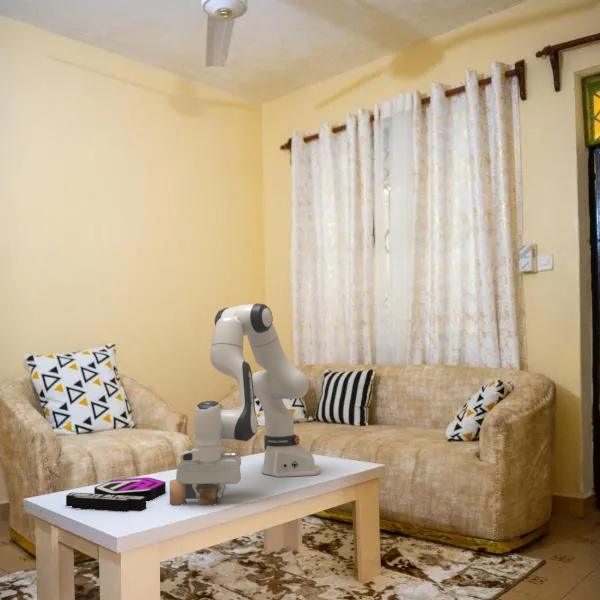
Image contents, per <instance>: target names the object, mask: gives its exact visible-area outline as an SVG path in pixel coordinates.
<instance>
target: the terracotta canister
mask: <svg viewBox="0 0 600 600" xmlns="http://www.w3.org/2000/svg"><path fill="white" fill-rule="evenodd" d="M186 499H187V498H186V484H182V482H177V481H176V478H175V479H171V480H169V505H170V504H171V506H181V504H183V505H185V504H186V503H187V500H186ZM184 503H185V504H184Z"/></svg>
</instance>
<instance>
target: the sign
mask: <svg viewBox="0 0 600 600" xmlns="http://www.w3.org/2000/svg"><path fill="white" fill-rule="evenodd" d="M166 487H167V486H166V481H164V480H160V479H156V478H152V477H136V478H135V477H133V478H119V479H113V480H109V481H107V482H103V483H102V484H99V485H97V486H95V487H94V488H93V490H94V493H90V492H69V493H68V494H66V496H65V506H72V507H71V508H81V509H80V510H87V509H95V510H94V511H103V510H108V512H119V511H120V512H121V511H122V513H128V512H142V511H145V510H146V509H147V502H146V501H148V502H150V500H151V501H153V499H154V500H155V498H156V499H157V497H158V498H159V496H160V497H162V496H163V495H166V491H167V490H166Z"/></svg>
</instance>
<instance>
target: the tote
mask: <svg viewBox="0 0 600 600" xmlns="http://www.w3.org/2000/svg"><path fill="white" fill-rule="evenodd" d="M202 485H218V491H220V489H221V487H220V484H198V486H197V488H198V490H199V489H200V488H201V487H202ZM186 499H197V498H196V493H195V491H194V489H193V488H192V484H186Z"/></svg>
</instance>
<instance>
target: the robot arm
mask: <svg viewBox="0 0 600 600" xmlns="http://www.w3.org/2000/svg"><path fill="white" fill-rule="evenodd" d="M273 319H274V318H273V313H272V310H271V308H270V307H268V306H267V305H266V304H265V303H264V304H263V303H250V304H249V303H248V304H240V305H236V306H230V307H225V308H222V309H220V310H218V311H217V313H216V315H215V317H214V330H213V333H212V336H211V337H212V338H211V343H210V344H211V346H210V351H209V352H210V353H209V358H210V362H211V365H212V367H214V368H215V370H216V371H217V372H220V373H221V374H224V375H225V376H228V377H230V378H233V379H234V380H236V382H237V384H238V390H239V401H240V402H239V403H240V406H239V409H223V408H221V405H220V402H218V401H216V400H215V401H214V400H207V401H206V400H205V401H202V402H200V403H198V404H197V405H196V407H195V409H194V410H195V411H194V417H193V419H194V420H193V421H194V422H193V432H194V437H195V438H194V444H193V448H190V449H187V450H185V451H183V452H181V453H180V454H179V463H178V464H177V468H176V473H175V474H176V476H175V479H176V481H177V482H182V484H192V488H193V489H194V491H195V493H196V498H195V499H199V490H198V488H197V486H198V484H220V487H221V489H220V491H217V492H216V495H217V496H216V498H218V499H221V498H222V497H223V490H224V488H225V487H226V484H227V485H229V484H230V485H234V484H235V485H236V484H239V483H240V481H241V479H242V475H241V474H242V473H241V468H240V467H241V466H242V458H241V456H240V455H239V454H237V453H233V452H232V453H226V452H224V453H223V440H236V441H242V442H248V441H250V440H251V439H252V438H253V437H254V436H255V435H256V434H257V432H258V417H257V412H256V407H255V397H256V399H257V400H258V402H259V404H260V406H261V409H262V411H263V415H264V432H265V433H264V436H263V437H264V438H263V447H264V457H263V460H264V461H263V465H262V470H261V473H262V474H264V475H267V476H272V477H276V478H282V477H283V478H284V477H303V476H306V477H307V476H316V475H319V474H320V473H321V467H320V466H319V465H315V459H314V456H313V454H312V453H311V452H310V451H309V450H308V449H306V448H305V447H304V446H302V445H301V444H300V441H301V440H300V439H301V438H300V436H299V435H297V434H295V428H294V427H295V425H294V421H295V420H294V418H295V417H294V414H293V412H292V411H291V410H290V409H289V408H288V407H287V406H286V405H285V403H284V400H295V399H300V398H303V397H304V396H306V394H307V393H308V390H309V388H310V385H309V384H310V383H309V379H308V377H307V375H306V374H305V373H303V372H302V371H301V370H299V369H298V368H297V367H295V366H294V365H293V363H292V362H291V361H290V359H288V357H287V355H286V353H285V352H284V350H283V347H282V344H281V342H280V339H279V336H278V333H277V330H276V328H275V325H274V324H273ZM244 336H246V337H247V340H248V343H249V346H250V349H251V352H252V355H253V358H254V360H255V362H256V365H258V366H259V367H260V368H262V369H263V370H259V371H256V372H254V373H253V374H252V368H251V366H250V364H249V362H247V361H246V360H245V358H244V353H243V352H244Z"/></svg>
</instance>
